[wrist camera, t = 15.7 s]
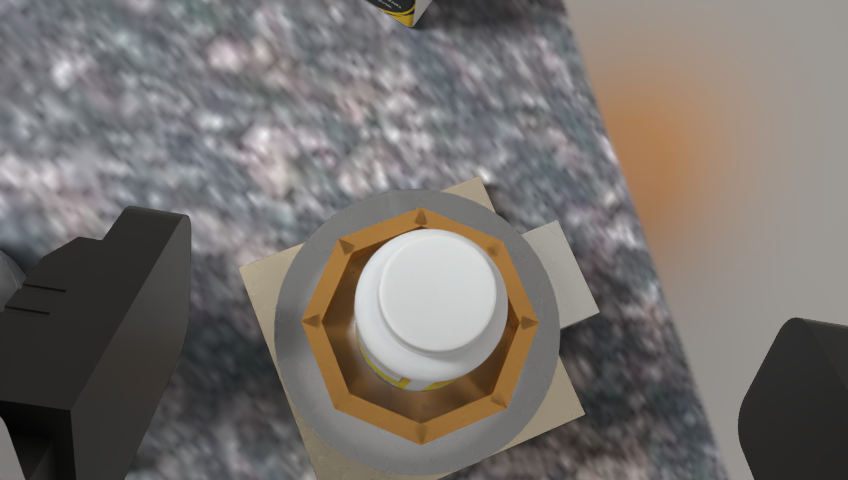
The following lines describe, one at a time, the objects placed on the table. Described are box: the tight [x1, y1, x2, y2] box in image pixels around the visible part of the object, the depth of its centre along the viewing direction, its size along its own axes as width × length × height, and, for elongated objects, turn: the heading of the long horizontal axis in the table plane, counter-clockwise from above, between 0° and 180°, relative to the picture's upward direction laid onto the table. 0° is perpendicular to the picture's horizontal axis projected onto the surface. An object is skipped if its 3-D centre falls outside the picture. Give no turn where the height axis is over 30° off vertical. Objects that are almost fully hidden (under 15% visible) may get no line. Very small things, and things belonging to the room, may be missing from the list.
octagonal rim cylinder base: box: [239, 176, 599, 480], centre depth 39 cm, size 16×14×9 cm
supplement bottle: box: [354, 229, 508, 392], centre depth 31 cm, size 6×6×10 cm
